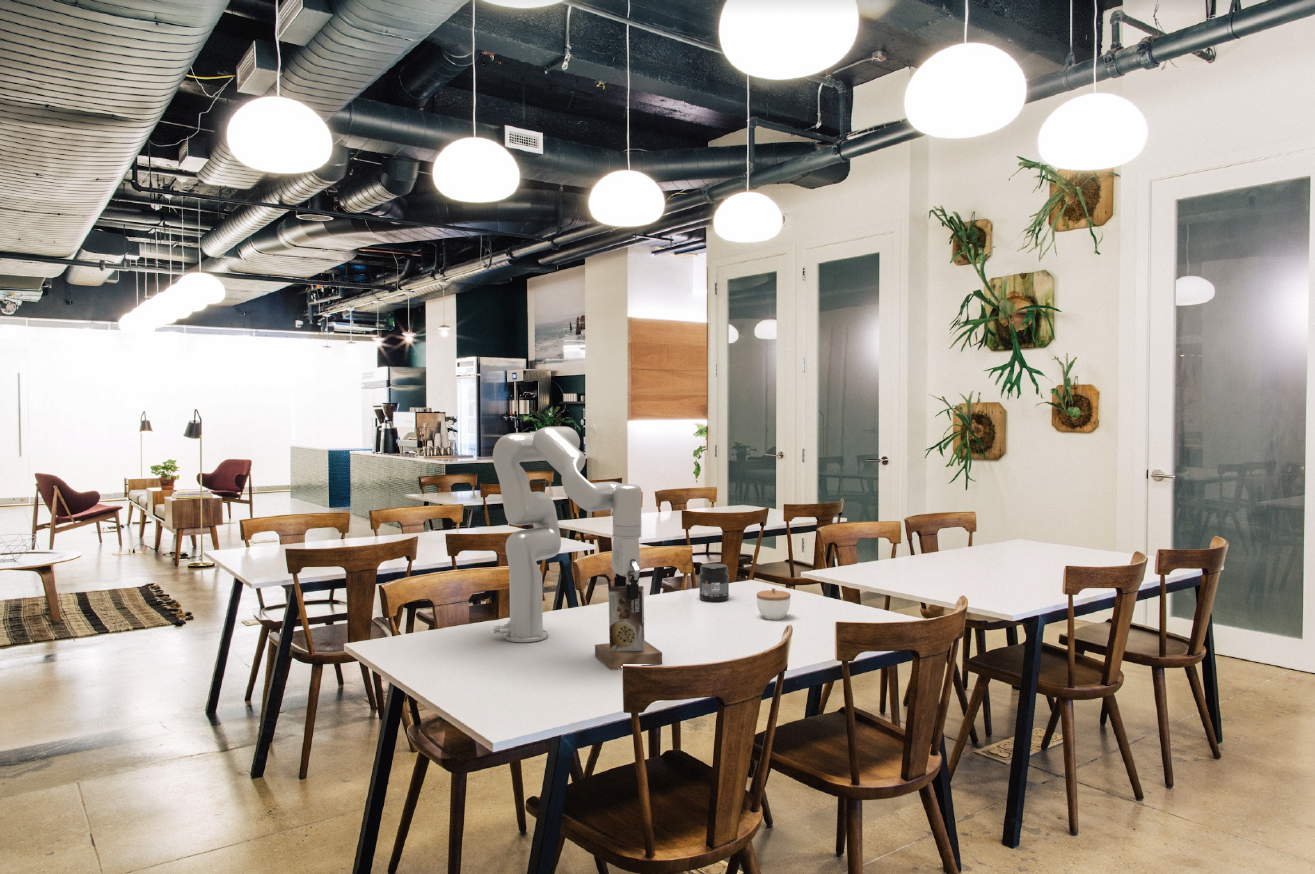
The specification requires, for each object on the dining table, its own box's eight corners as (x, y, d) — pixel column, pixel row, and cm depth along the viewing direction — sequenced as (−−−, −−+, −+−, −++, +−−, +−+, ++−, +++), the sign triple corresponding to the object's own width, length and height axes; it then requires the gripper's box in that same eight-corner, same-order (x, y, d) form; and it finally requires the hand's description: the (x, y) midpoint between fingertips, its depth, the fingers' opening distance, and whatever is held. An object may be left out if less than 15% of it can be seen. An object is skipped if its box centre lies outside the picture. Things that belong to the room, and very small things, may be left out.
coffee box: (645, 645, 227) (644, 585, 226) (643, 651, 220) (642, 590, 220) (611, 645, 227) (610, 585, 227) (608, 651, 221) (608, 590, 220)
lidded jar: (792, 621, 265) (792, 591, 265) (758, 621, 265) (758, 591, 265) (788, 613, 276) (788, 585, 275) (755, 613, 276) (755, 585, 276)
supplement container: (714, 595, 305) (714, 562, 305) (735, 599, 297) (735, 565, 297) (693, 599, 299) (692, 565, 298) (713, 604, 290) (713, 569, 290)
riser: (611, 669, 215) (611, 658, 215) (595, 655, 228) (594, 644, 228) (662, 663, 220) (662, 652, 220) (643, 650, 233) (643, 639, 233)
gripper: (603, 527, 230) (602, 589, 230) (624, 536, 214) (623, 603, 214) (629, 526, 232) (628, 587, 233) (651, 535, 216) (650, 601, 217)
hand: (625, 595), depth 224 cm, fingers open, 9 cm apart
